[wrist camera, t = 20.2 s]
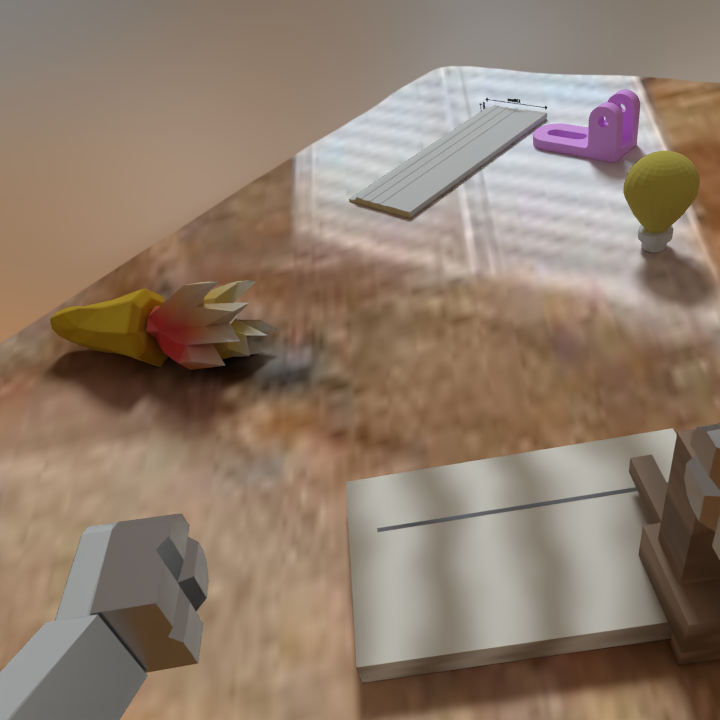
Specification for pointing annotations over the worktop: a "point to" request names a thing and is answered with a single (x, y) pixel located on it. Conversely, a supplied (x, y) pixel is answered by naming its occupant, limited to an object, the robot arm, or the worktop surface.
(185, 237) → the worktop surface
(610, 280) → the worktop surface
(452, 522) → the birch board
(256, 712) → the worktop surface
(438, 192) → the baseboard molding
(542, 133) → the bracket
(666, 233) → the light bulb
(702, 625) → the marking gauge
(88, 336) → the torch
